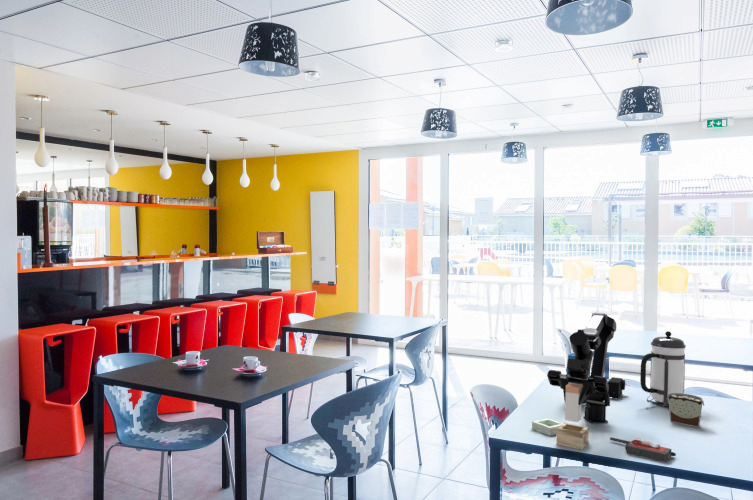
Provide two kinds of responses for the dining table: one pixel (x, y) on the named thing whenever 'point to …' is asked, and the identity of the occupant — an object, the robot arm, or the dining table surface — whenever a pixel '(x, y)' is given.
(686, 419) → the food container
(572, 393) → the plug
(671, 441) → the dining table surface
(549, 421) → the tray
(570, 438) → the box
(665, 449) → the walkie-talkie
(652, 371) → the coffee press
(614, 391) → the digital camera
